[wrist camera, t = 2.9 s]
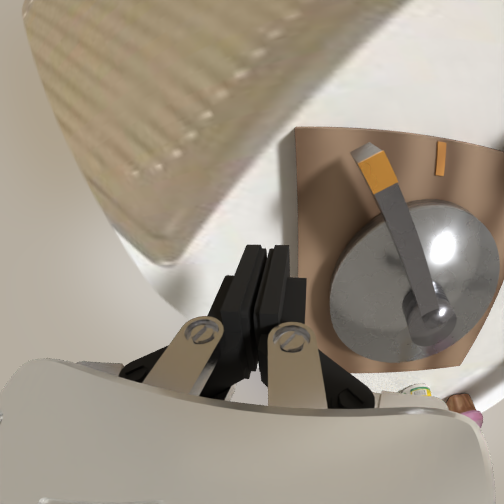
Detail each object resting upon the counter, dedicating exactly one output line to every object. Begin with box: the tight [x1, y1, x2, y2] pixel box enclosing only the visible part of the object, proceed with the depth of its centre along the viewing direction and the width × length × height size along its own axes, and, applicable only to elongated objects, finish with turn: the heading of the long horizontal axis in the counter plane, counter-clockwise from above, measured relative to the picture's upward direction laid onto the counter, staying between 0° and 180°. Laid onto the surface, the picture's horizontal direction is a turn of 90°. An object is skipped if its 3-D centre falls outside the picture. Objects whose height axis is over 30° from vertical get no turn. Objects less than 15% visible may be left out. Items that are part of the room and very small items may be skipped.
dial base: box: [295, 127, 504, 373], centre depth 24 cm, size 24×28×2 cm
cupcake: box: [446, 394, 483, 428], centre depth 31 cm, size 9×9×10 cm
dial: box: [330, 142, 500, 363], centre depth 20 cm, size 24×18×6 cm
